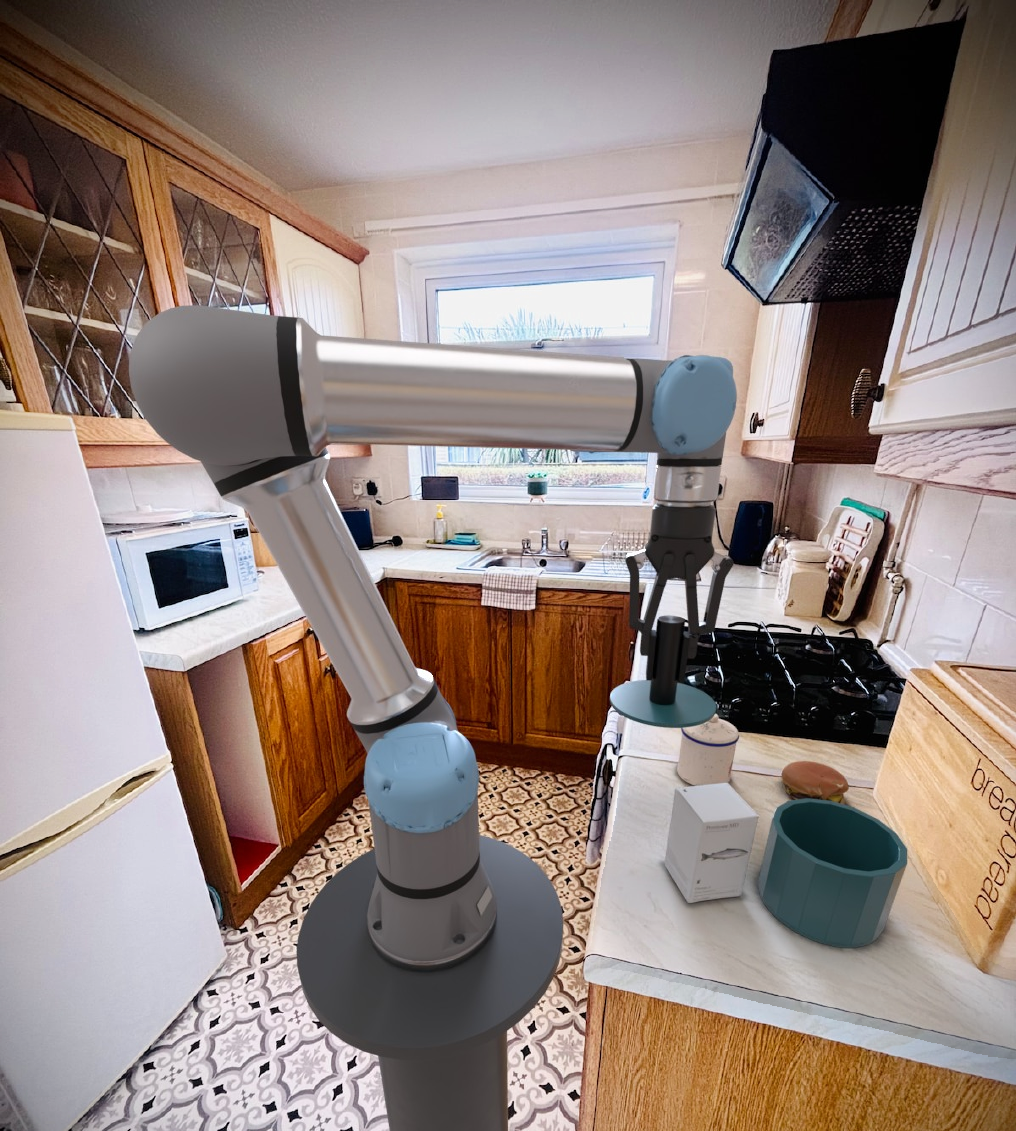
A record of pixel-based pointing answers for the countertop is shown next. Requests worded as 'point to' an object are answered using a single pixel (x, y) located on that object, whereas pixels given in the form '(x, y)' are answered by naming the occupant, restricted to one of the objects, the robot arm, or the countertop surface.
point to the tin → (831, 872)
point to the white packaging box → (709, 841)
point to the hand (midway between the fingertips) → (664, 677)
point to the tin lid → (664, 687)
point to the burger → (814, 781)
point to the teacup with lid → (707, 752)
